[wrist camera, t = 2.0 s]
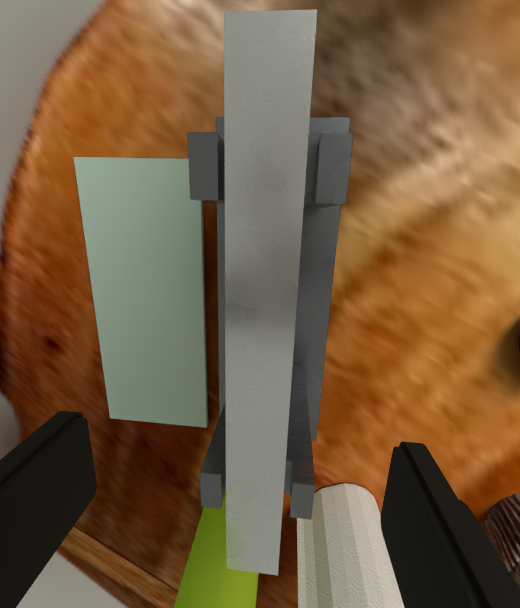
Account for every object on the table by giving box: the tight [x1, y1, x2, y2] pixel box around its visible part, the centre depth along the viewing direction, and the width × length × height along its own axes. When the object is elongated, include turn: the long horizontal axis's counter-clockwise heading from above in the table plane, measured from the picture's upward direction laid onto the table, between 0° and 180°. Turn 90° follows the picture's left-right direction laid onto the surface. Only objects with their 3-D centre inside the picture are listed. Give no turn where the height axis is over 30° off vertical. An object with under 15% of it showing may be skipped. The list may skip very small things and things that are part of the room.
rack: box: [188, 117, 353, 520], centre depth 20 cm, size 26×9×12 cm, turn 178°
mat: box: [74, 157, 208, 428], centre depth 26 cm, size 24×10×1 cm, turn 178°
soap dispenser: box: [173, 491, 259, 608], centre depth 22 cm, size 6×7×20 cm
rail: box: [224, 9, 317, 575], centre depth 15 cm, size 26×3×2 cm, turn 178°
